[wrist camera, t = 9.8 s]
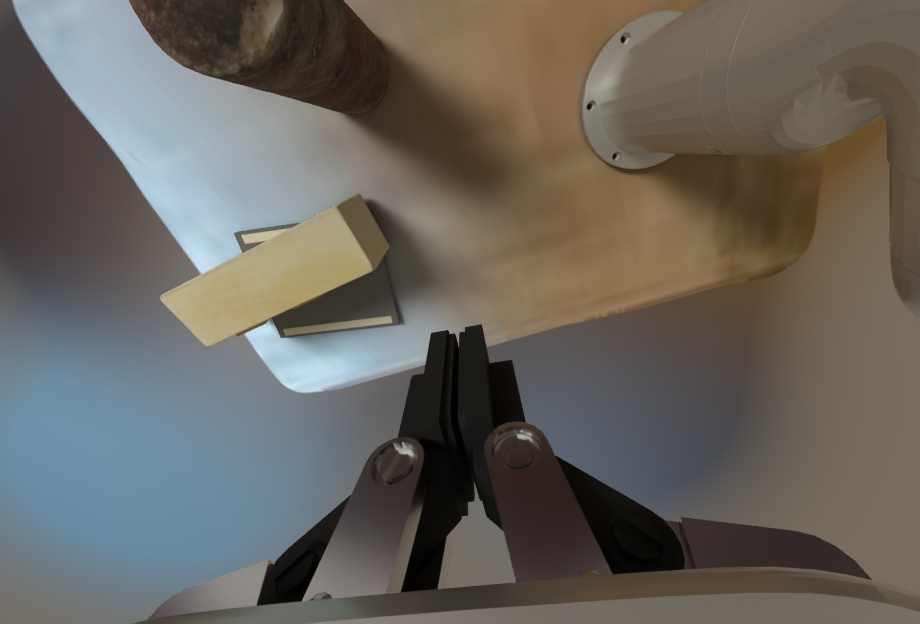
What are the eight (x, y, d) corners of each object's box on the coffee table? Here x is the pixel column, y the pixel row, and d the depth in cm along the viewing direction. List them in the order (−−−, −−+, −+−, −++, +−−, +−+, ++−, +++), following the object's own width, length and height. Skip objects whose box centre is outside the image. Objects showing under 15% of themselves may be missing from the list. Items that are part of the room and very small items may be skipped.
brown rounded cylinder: (319, 119, 32) (149, 84, 15) (297, 25, 29) (41, -170, 11) (395, 112, 32) (316, 67, 14) (381, 16, 29) (255, -198, 11)
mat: (373, 212, 37) (371, 213, 36) (400, 320, 43) (399, 324, 42) (238, 231, 37) (233, 233, 37) (283, 334, 44) (280, 338, 43)
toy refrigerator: (394, 252, 38) (251, 317, 42) (360, 192, 35) (208, 268, 39) (380, 277, 31) (209, 353, 35) (337, 204, 28) (153, 296, 31)
